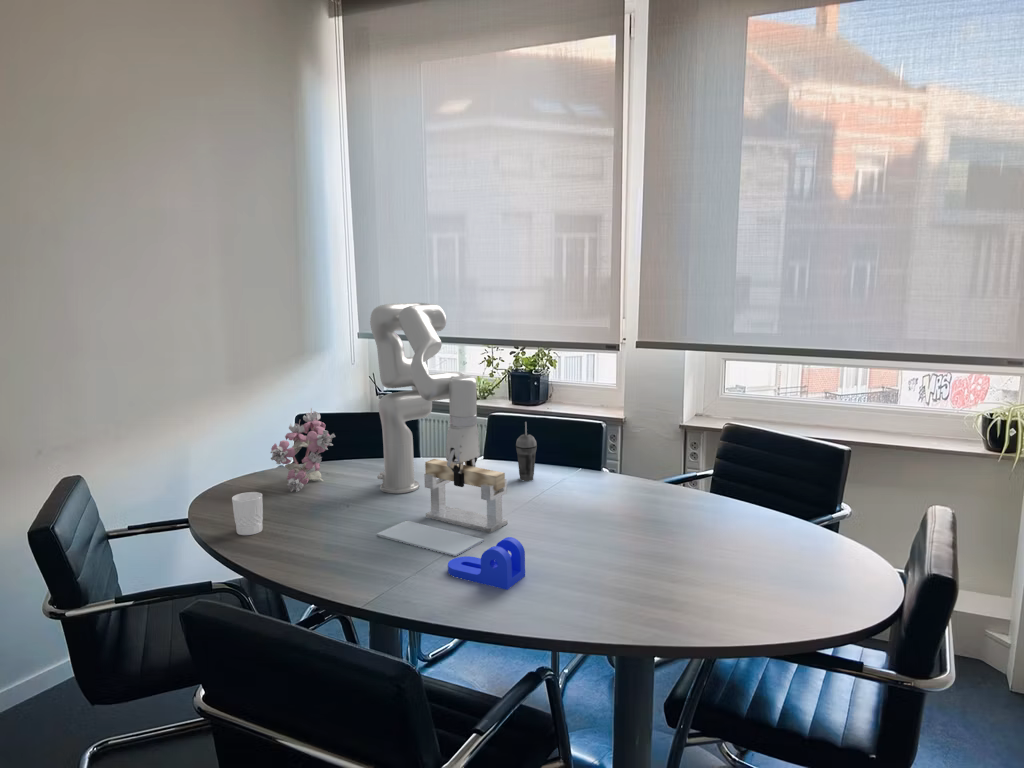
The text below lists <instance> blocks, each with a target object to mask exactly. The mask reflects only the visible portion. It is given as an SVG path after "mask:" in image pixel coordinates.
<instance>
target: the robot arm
mask: <svg viewBox="0 0 1024 768" xmlns="http://www.w3.org/2000/svg"><path fill="white" fill-rule="evenodd" d="M369 319H370V321H369V322H370V323H369V324H370V329H371V333H372V336H373V339H374V342H375V346H376V349H377V360H378V370H379V378H380V382H381V385H382V386H383V387H384V388H386V389H399V388H408V387H409V388H411V390H404V391H398V392H397V391H396V392H391V393H388V394H385V395H383V396H382V397H381V398H380V399H379V401H378V407H377V409H378V412H379V413H378V414H379V418H380V424H381V429H382V444H383V445H382V446H383V447H382V448H383V467H384V468H383V469H384V471H380V472H379V474H378V475H377V480H382V483H381V484H380V488H379V489H380V490H381V492H383V493H387V494H405V493H406V494H407V493H412V492H414V491H417V490H418V489H419V488H420V482H419V481H417V480H415V467H414V466H415V464H414V463H415V462H414V461H415V459H414V439H413V438H414V437H413V432H412V431H411V429H410V428H409V427H408V426H407V424H406V422H408V421H412V420H413V421H414V420H415V421H416V420H420V419H425V418H427V417H428V416H430V415H431V412H432V411H433V402H434V401H441V400H448V401H449V427H448V429H447V433H446V434H447V435H446V443H445V447H446V448H445V461H448V462H447V466H448V467H449V468H451V469H452V472H454V481H453V485H454V487H458V488H459V487H460V488H464V487H465V484H464V473H462V471H463V465H468V466H473V467H476V463H477V461H478V459H479V458H480V456H481V453H480V437H479V435H480V434H479V427H478V418H477V416H478V413H477V410H478V409H477V406H478V405H477V400H478V399H477V394H478V393H477V380H476V378H475V377H473V376H471V375H470V376H469V375H465V374H464V373H462V372H460V371H449V372H438V373H431V374H430V370H429V366H428V364H427V363H426V362H427V361H429V360H430V359H432V358H433V357H435V356H436V355H437V354H438V353H439V352H440V350H441V349H442V344H443V343H442V340H441V338H440V337H439V335H438V332H441V331H443V330H444V329H445V328H446V325H447V315H446V313H445V311H444V310H443V308H442V307H441V305H439V304H437V303H436V304H435V303H425V302H424V303H423V302H405V303H403V302H402V303H399V302H398V303H386V304H381V305H378V306H376V307H375V308H373V310H372V311H371V314H370V318H369ZM397 331H403V333H404V335H405V337H406V339H407V341H408V343H409V345H410V347H411V348H412V351H413V353H414V354H413V356H408V357H406V354H405V346H404V342H403V340H402V339H401V337H400V336H399V335H398V334H397V333H396V332H397ZM457 464H459V467H458V466H457Z"/></svg>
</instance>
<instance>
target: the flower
mask: <svg viewBox="0 0 1024 768" xmlns="http://www.w3.org/2000/svg"><path fill="white" fill-rule="evenodd" d="M312 410H313V407H310V412H306V413H305V414H304V415H303V416H302V419H303V421H304V422H305V423H304V424H300V423H301V419H299V421H298V423H294V425H292V424H291V423H290V424H289V426H288V430H289V431H291V432H287V433H286V434H285V435H284V438H285V440H284V439H283V440H280V441H279V444H278V445H277V443H274V444H273V445H272V447H271V448H270V449H271V451H270V454H272V455H271V456H272V457H270V460H271V461H275V464H277V465H284V466H285V468H287V470H288V473H287V477H286V480H287V482H288V483H287V485H286V487H288V490H289V489H290V490H289V491H290V492H293V491H294V490H295V493H297V492H300V490H302V489H303V487H304V486H305V485H307V484H308V483H309V481H310V480H311V481H319V480H320V481H322V482H324V479H323V478H322V473H321V472H320V471H319V470H320V469H321V467H320V466H321V462H322V458H323V456H322V454H321V453H324V452H325V451H328V450H329V449H328V447H332V446H334V444H333V443H332V442H333V441H332V440H333V438H336V435H335V433H331V434H330V433H329V431H328V430H325V429H326V424H325V423H324V422H322V421H320V420H321V414H320V412H317V411H314V410H313V411H312ZM309 430H310V431H309ZM303 433H304V434H307V435H304V434H303ZM288 440H289V441H290V442H291V441H293V445H292V446H291V447H289V446H290V442H289V441H288ZM302 448H306V451H305V456H304V457H303V458H302V459H301V464H302V467H301V465H300V464H299V461H298V460H297V458H296V457H295V455H297V454H298V453H299V452H300V450H301V449H302ZM289 458H292V460H293V462H292V460H291V459H289ZM313 468H314V471H311V469H313ZM309 471H311V472H309ZM308 472H309V473H308Z"/></svg>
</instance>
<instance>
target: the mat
mask: <svg viewBox="0 0 1024 768" xmlns="http://www.w3.org/2000/svg"><path fill="white" fill-rule="evenodd" d="M376 537H380V538H383V539H388V540H391V541H395V542H398V541H399V543H402V542H403V544H407V545H409V544H410V546H413V545H414V547H417V546H418V548H421V547H422V548H421V549H424V548H426V549H425V550H428V549H430V550H429V551H432V550H433V552H436V551H437V552H436V553H439V552H441V553H440V554H443V553H445V554H444V555H447V554H449V555H448V556H451V555H453V556H452V557H454V556H456V557H458V556H460V555H462V554H463V552H464V551H466V550H467V551H469V550H470V548H471V549H473V548H474V546H475V547H476V546H478V545H481V544H482V543H484V542H485V539H484V538H481V537H476V536H472V535H468V534H463V533H460V532H456V531H451V530H447V529H444V528H440V527H435V526H431V525H425V524H423V523H420V522H419V523H418V522H415V521H410V520H405V521H402V522H400V523H398V524H395V525H393V526H390V527H388V528H386V529H383V530H382V531H380V532H377V533H376ZM483 541H484V542H483ZM481 542H482V543H481ZM472 547H473V548H472ZM468 549H469V550H468ZM467 551H466V552H467ZM461 553H462V554H461ZM464 553H465V552H464ZM459 554H460V555H459ZM457 555H458V556H457Z"/></svg>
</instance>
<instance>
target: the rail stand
mask: <svg viewBox="0 0 1024 768" xmlns="http://www.w3.org/2000/svg"><path fill="white" fill-rule="evenodd" d="M423 477H424V488H425V489H430V508H431V509H430V511H429V512H426V513H425V518H426V517H427V518H426V519H430V518H432V519H431V520H434V519H436V520H435V521H438V520H441V521H440V522H443V521H444V522H443V523H447V522H448V524H451V523H452V524H451V525H455V524H456V526H460V525H461V527H464V528H468V527H469V529H472V528H473V530H477V529H478V531H481V530H482V532H485V531H486V533H489V532H492V533H493V532H496V531H497V530H499V529H501V528H503V527H504V526H506V525H508V519H504V518H503V496H504V495H506V494H507V493H508V479H507V478H505V487H503V488H501V489H499V490H497V491H495V490H494V487H493V485H490V484H485V483H484V484H482V485H481V487H480V496H481V498H480V499H481V500H483V501H486V514H482V513H478V512H473V511H469V510H465V509H464V510H463V509H460V508H455V507H451V506H447V505H446V503H447V502H446V484H449V483H451V481H449V480H444V479H440V478H436V474H433V473H424V476H423ZM502 526H503V527H502Z"/></svg>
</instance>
